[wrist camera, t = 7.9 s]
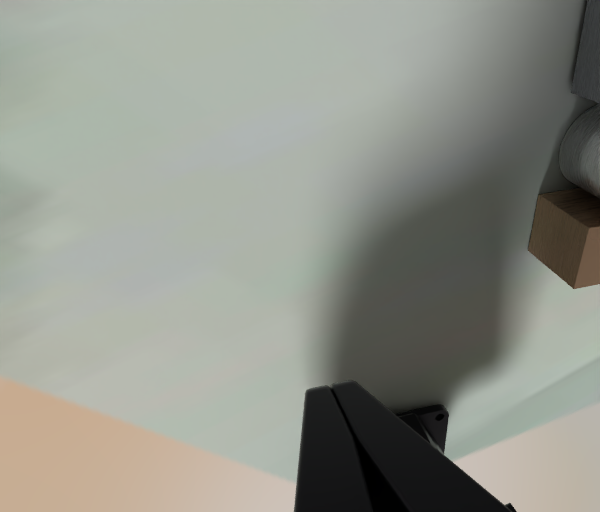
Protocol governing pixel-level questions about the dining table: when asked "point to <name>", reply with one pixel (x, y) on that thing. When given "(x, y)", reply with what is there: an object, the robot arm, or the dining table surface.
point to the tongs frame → (573, 208)
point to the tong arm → (589, 55)
